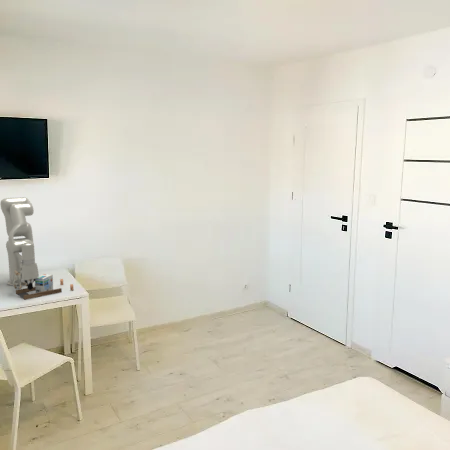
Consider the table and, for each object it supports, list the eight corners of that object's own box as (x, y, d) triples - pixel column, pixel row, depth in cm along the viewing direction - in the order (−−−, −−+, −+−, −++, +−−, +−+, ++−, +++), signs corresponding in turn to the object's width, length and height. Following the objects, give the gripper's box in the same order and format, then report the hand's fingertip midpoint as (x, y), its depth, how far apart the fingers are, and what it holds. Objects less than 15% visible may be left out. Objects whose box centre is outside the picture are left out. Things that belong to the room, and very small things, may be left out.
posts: (59, 284, 319) (59, 279, 319) (62, 284, 321) (62, 278, 320) (71, 290, 306) (70, 285, 306) (74, 290, 308) (73, 284, 307)
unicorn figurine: (9, 292, 302) (8, 272, 300) (20, 283, 321) (19, 264, 319) (20, 292, 302) (19, 272, 300) (31, 283, 322) (30, 264, 319)
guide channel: (15, 293, 298) (15, 290, 298) (52, 286, 314) (51, 283, 314) (24, 299, 287) (24, 295, 287) (61, 292, 303) (61, 288, 303)
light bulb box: (44, 294, 297) (43, 278, 296) (35, 293, 299) (34, 278, 297) (53, 289, 308) (52, 274, 306) (44, 289, 309) (43, 273, 307)
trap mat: (16, 294, 297) (16, 294, 297) (26, 292, 301) (26, 292, 301) (23, 299, 288) (23, 298, 288) (33, 297, 292) (33, 296, 292)
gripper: (18, 264, 286) (20, 293, 289) (42, 261, 296) (44, 288, 299) (14, 262, 291) (16, 290, 294) (38, 259, 301) (39, 285, 304)
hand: (30, 289), depth 296 cm, fingers closed
